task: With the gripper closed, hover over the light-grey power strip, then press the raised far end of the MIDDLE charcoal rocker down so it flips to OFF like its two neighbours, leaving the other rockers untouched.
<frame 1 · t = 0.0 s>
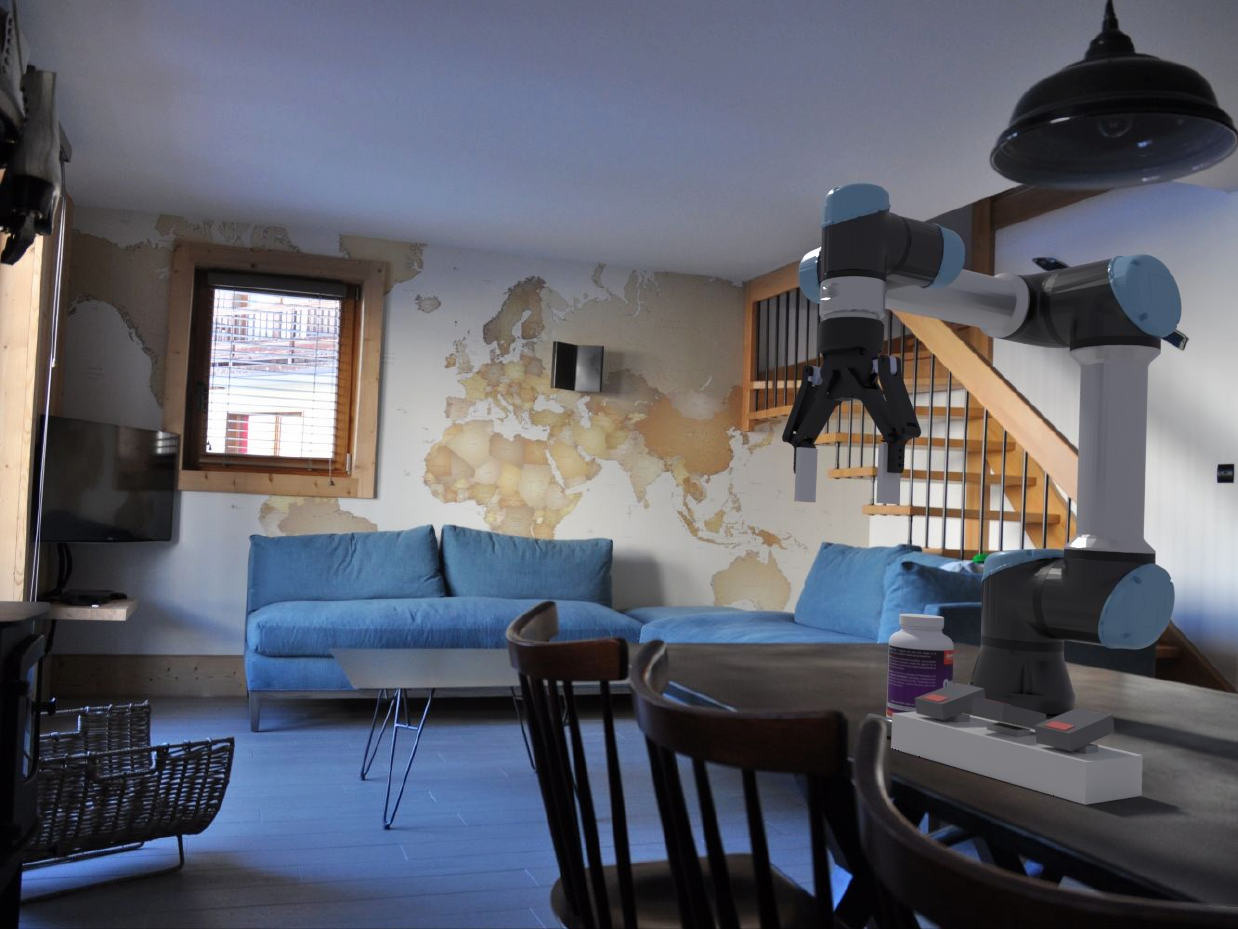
hand: (844, 503, 121), 28 cm above the table, fingers open, 13 cm apart
power strip: (1007, 770, 113), on the table
pill bottle: (918, 730, 134), on the table
rocker 2: (1008, 713, 113), point 6 cm above the table, hinge at -12.0°
rocker 3: (1074, 728, 107), point 6 cm above the table, hinge at 12.0°
rocker 1: (950, 700, 120), point 6 cm above the table, hinge at 12.0°
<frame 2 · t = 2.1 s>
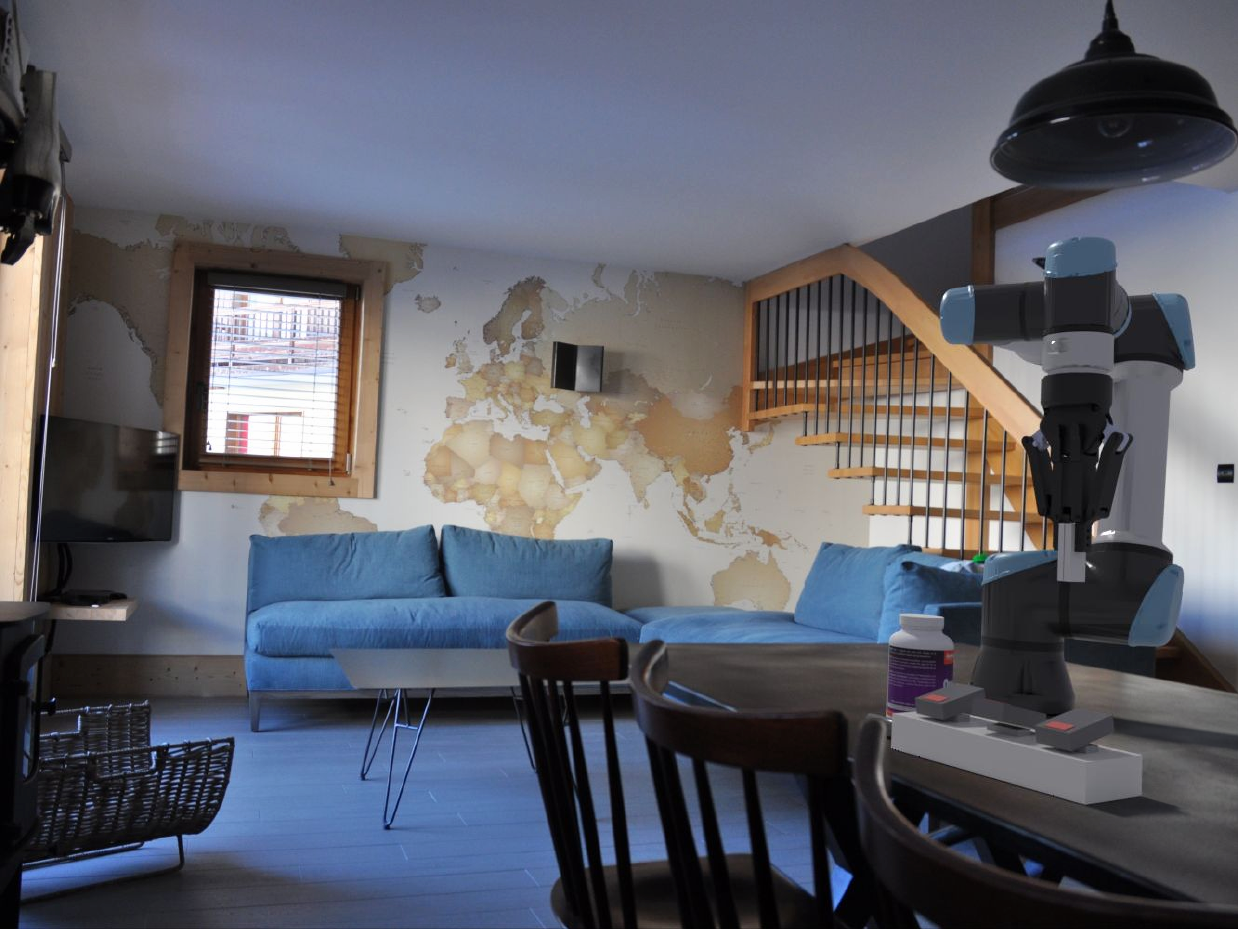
hand: (1070, 581, 119), 20 cm above the table, fingers closed
nothing on the table moved.
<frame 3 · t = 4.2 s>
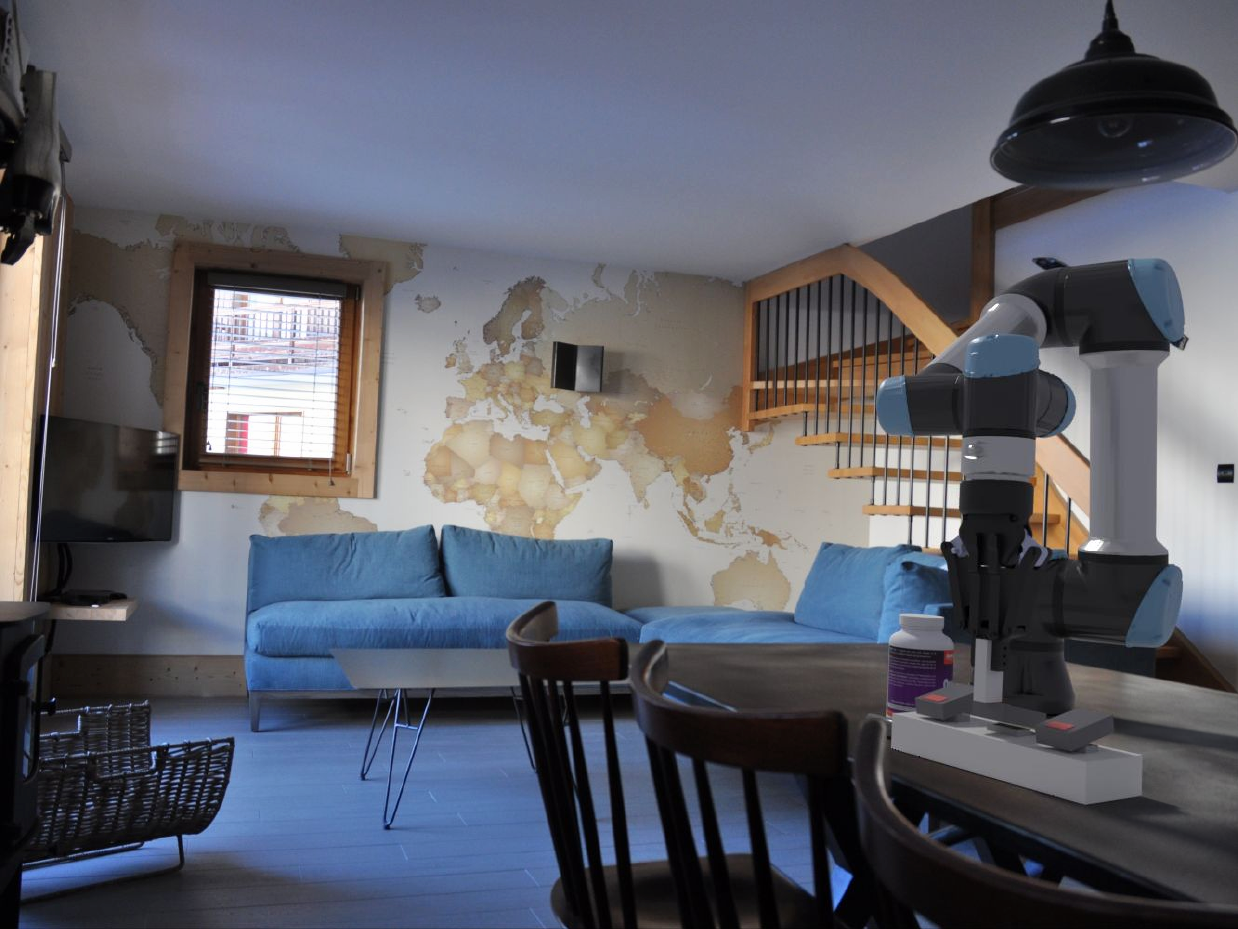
hand: (987, 701, 112), 8 cm above the table, fingers closed
rocker 2: (1008, 713, 113), point 6 cm above the table, hinge at -10.6°, touching gripper
everything else where it was.
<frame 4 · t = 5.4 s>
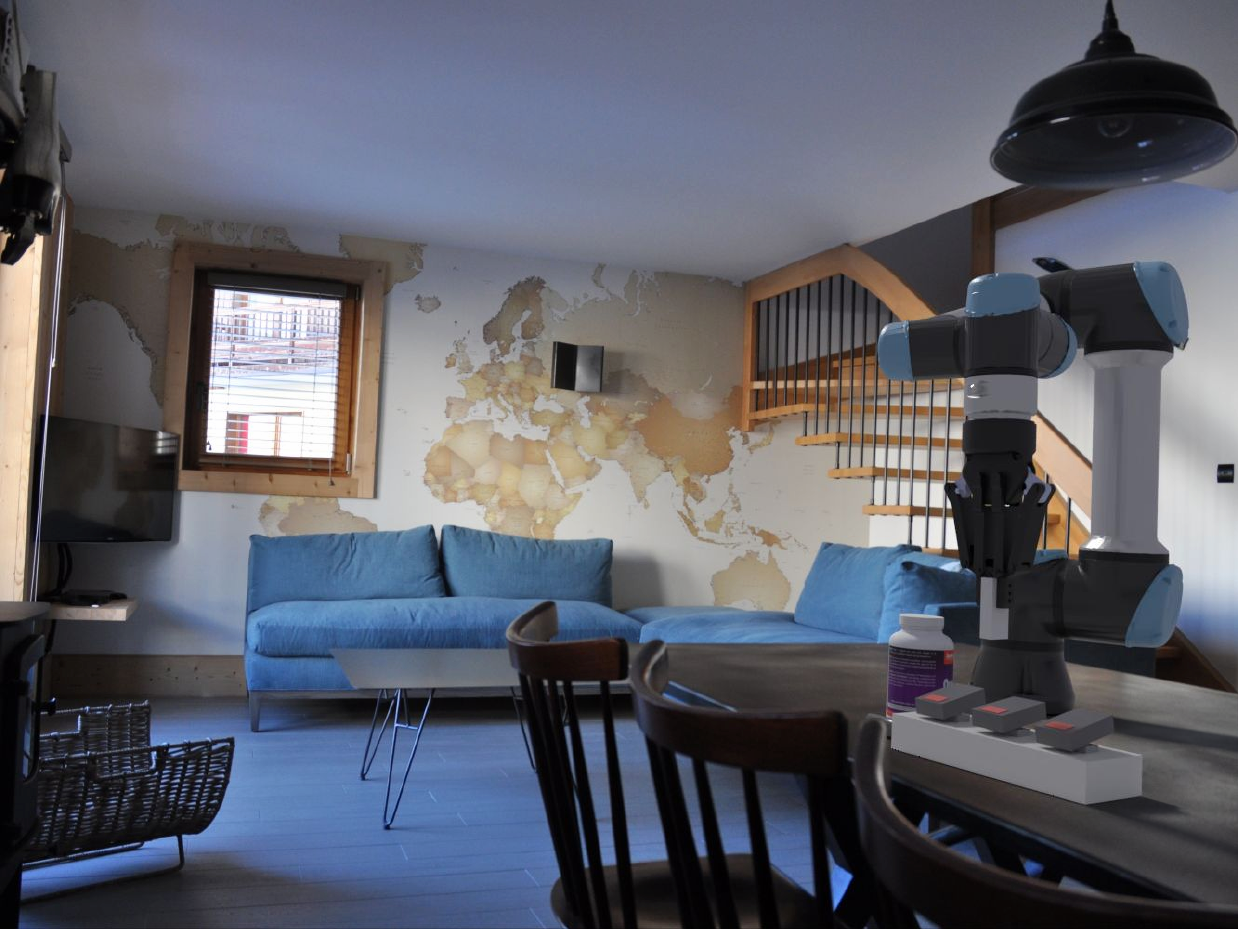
hand: (993, 638, 113), 14 cm above the table, fingers closed
rocker 2: (1008, 713, 113), point 6 cm above the table, hinge at 8.6°
everything else where it was.
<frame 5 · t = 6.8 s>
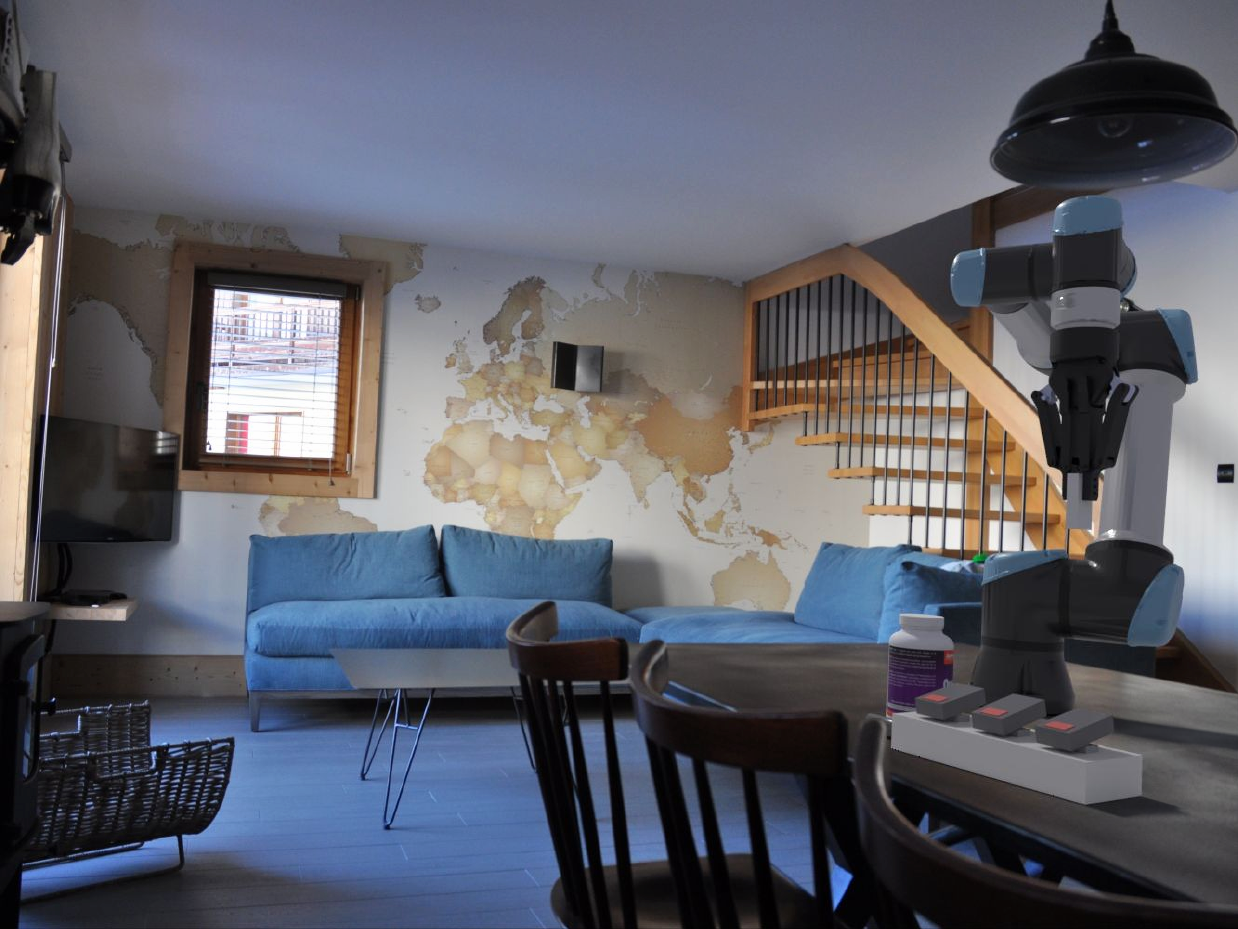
hand: (1078, 529, 123), 26 cm above the table, fingers closed
rocker 2: (1008, 713, 113), point 6 cm above the table, hinge at 13.9°
everything else where it was.
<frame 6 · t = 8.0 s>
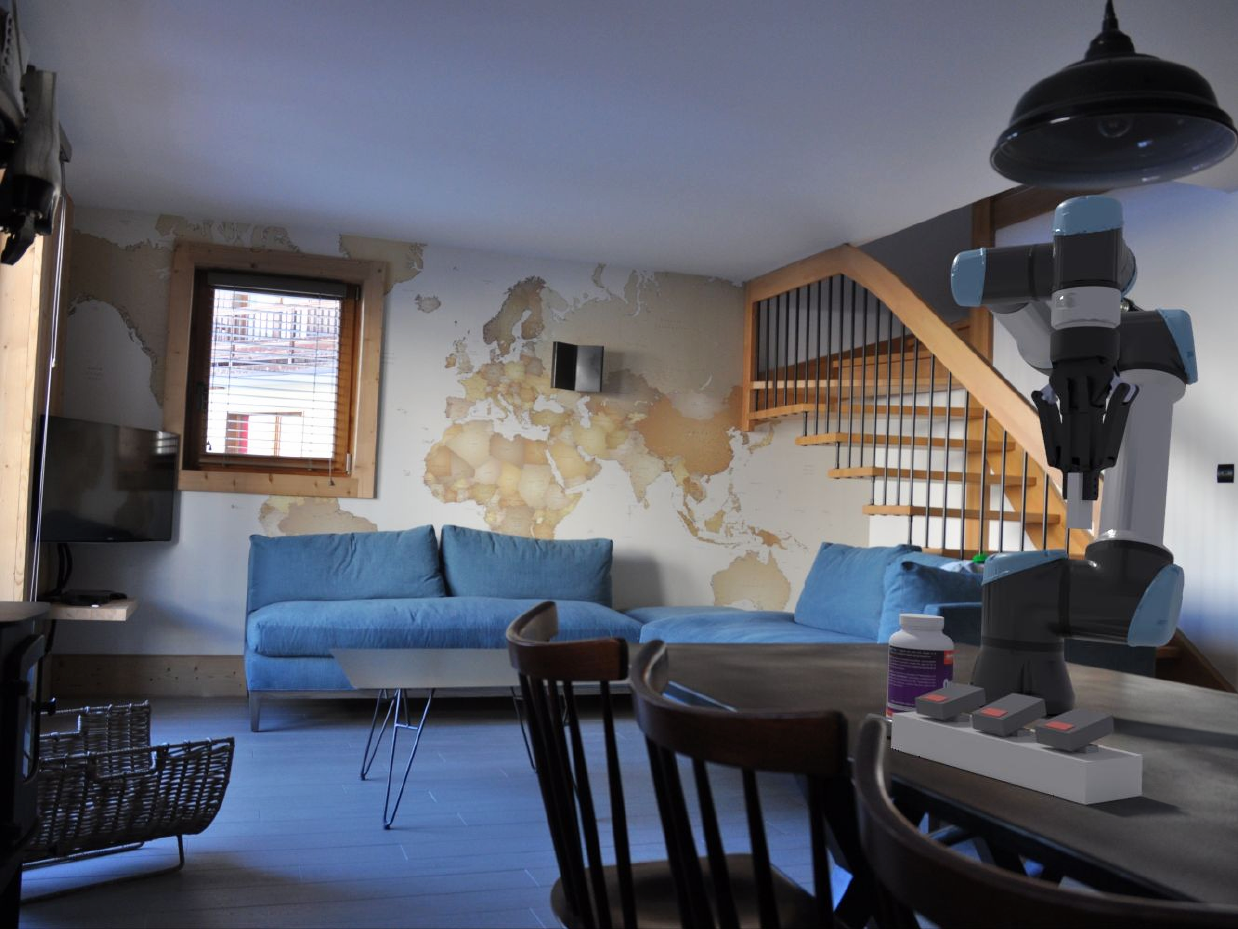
hand: (1079, 528, 123), 26 cm above the table, fingers closed
rocker 2: (1008, 713, 113), point 6 cm above the table, hinge at 15.2°
everything else where it was.
at the end: rocker 2 at +15° (first picture: -12°); rocker 1 at +12° (first picture: +12°); rocker 3 at +12° (first picture: +12°) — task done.
